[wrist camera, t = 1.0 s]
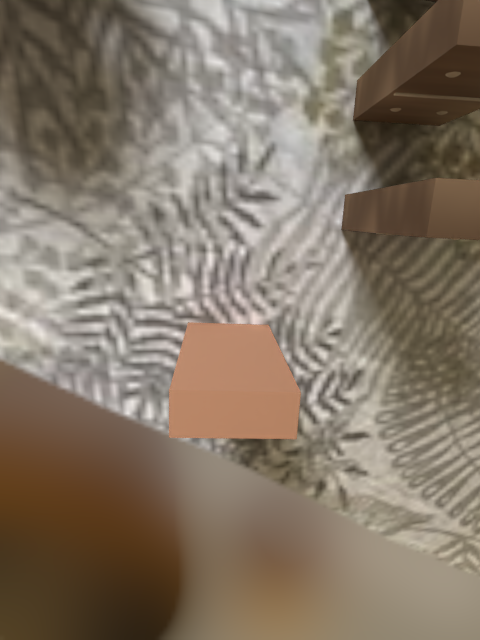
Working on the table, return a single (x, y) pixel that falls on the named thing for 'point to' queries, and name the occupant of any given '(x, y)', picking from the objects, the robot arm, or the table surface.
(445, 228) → the domino
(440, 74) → the domino
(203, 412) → the domino
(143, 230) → the table surface
